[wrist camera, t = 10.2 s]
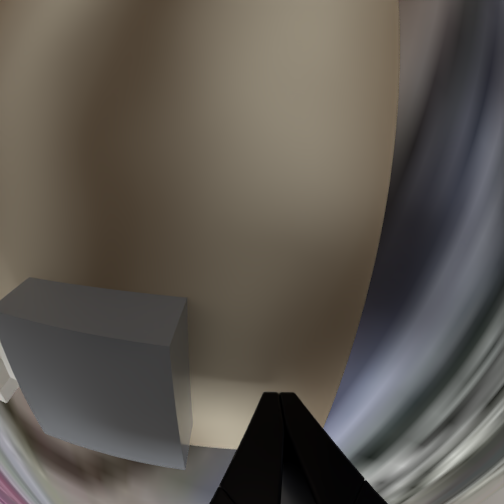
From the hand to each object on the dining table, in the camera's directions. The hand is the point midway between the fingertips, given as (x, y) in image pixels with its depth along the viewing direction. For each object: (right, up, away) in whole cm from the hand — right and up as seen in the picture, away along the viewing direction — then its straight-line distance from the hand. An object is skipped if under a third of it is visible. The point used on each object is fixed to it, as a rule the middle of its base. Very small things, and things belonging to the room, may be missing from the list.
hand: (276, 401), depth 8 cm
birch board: (-4, +5, +1) cm, 6 cm away
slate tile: (-5, +1, +1) cm, 5 cm away
